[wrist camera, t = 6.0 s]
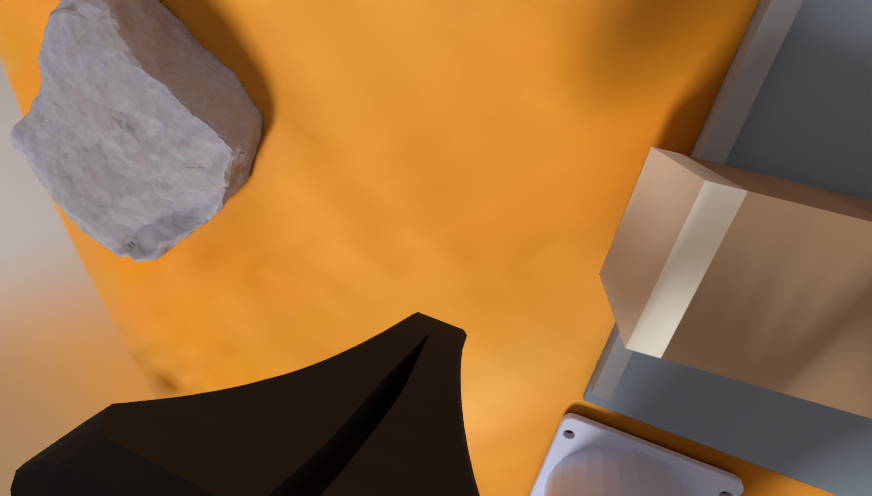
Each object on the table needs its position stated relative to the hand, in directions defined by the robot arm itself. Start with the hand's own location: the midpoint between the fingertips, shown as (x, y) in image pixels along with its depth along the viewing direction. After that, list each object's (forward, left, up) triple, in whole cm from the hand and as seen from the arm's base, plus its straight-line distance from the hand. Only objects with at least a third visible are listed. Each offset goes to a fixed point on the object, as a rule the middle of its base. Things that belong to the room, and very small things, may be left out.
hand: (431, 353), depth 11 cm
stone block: (-1, +18, -10) cm, 21 cm away
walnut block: (+3, -5, -6) cm, 8 cm away
